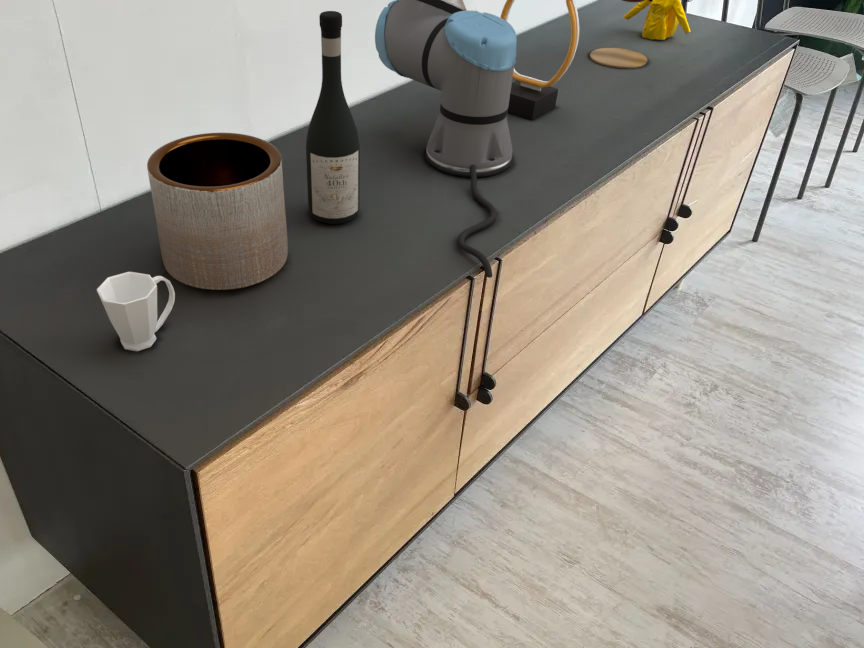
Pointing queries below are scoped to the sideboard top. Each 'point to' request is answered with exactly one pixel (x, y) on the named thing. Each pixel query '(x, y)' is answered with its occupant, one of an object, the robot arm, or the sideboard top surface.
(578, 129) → the sideboard top surface
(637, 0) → the mug
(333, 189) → the wine bottle
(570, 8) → the lamp
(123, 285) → the cup
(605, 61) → the tan round disc
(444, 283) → the sideboard top surface
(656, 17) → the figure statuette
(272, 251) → the planter
